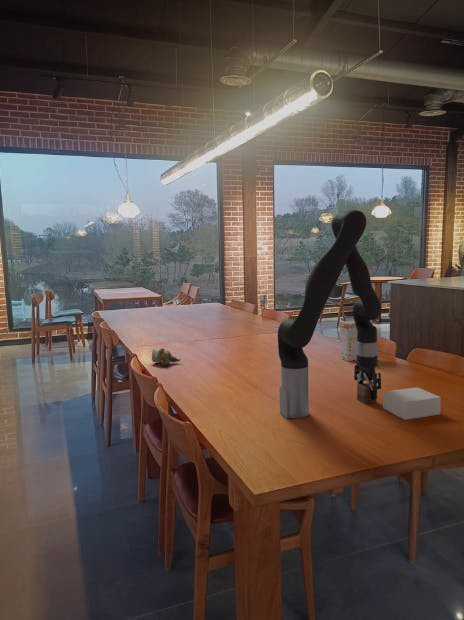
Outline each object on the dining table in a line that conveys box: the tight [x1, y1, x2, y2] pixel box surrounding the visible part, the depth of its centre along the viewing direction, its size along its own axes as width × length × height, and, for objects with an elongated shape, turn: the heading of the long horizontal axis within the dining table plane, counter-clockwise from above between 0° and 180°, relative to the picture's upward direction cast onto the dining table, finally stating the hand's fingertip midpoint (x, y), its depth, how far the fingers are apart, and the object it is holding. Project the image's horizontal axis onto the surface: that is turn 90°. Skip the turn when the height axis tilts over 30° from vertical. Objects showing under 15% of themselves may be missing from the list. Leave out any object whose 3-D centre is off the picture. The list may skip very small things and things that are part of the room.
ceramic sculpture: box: [151, 348, 181, 366], centre depth 240 cm, size 11×9×15 cm
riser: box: [382, 386, 442, 421], centre depth 161 cm, size 14×12×6 cm
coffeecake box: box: [339, 319, 374, 362], centre depth 237 cm, size 15×7×20 cm, turn 108°
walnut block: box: [356, 382, 377, 405], centre depth 173 cm, size 5×5×6 cm
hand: (367, 396), depth 173 cm, fingers open, 8 cm apart
